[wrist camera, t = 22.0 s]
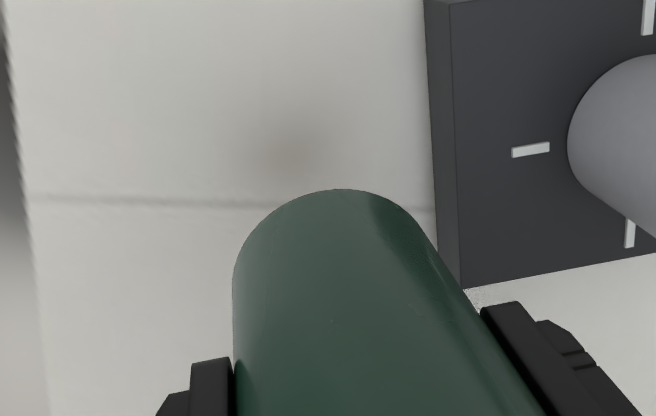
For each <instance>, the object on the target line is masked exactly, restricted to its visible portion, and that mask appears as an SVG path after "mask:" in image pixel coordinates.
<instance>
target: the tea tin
mask: <svg viewBox="0 0 656 416" xmlns="http://www.w3.org/2000/svg"><path fill="white" fill-rule="evenodd" d="M232 310H233V367H234V416H547V415H546V414H545V412H544V411H543V409H542V408H541V406H540V405H539V403H538V402H537V400H536V399H535V397H534V396H533V394H532V393H531V391H530V390H529V388H528V387H527V385H526V384H525V382H524V381H523V379H522V378H521V376H520V375H519V373H518V372H517V370H516V369H515V367H514V366H513V364H512V363H511V361H510V360H509V359H508V357H507V356H506V354H505V353H504V351H503V350H502V348H501V347H500V345H499V344H498V342H497V341H496V339H495V338H494V336H493V335H492V333H491V332H490V330H489V329H488V327H487V326H486V324H485V323H484V321H483V320H482V318H481V317H480V315H479V314H478V312H477V311H476V309H475V308H474V306H473V305H472V303H471V302H470V300H469V299H468V297H467V296H466V294H465V293H464V291H463V290H462V288H461V287H460V285H459V284H458V282H457V281H456V279H455V278H454V276H453V275H452V273H451V272H450V271H449V269H448V268H447V266H446V265H445V263H444V262H443V260H442V259H441V257H440V256H439V254H438V253H437V251H436V250H435V248H434V247H433V245H432V244H431V242H430V241H429V239H428V238H427V236H426V235H425V233H424V232H423V230H422V229H421V227H420V226H419V224H418V223H417V222H416V221H415V220H414V218H413V217H412V216H411V215H410V214H409V213H408V212H406V211H405V210H404V209H403V208H401V207H400V206H399V205H397V204H395V203H394V202H392V201H390V200H388V199H386V198H384V197H381V196H379V195H376V194H373V193H369V192H365V191H359V190H352V189H333V190H324V191H319V192H315V193H310V194H307V195H304V196H301V197H299V198H296V199H294V200H292V201H290V202H288V203H286V204H284V205H282V206H281V207H279V208H278V209H276V210H275V211H273V212H272V213H270V214H269V215H268V216H267V217H266V218H265V219H264V220H262V221H261V222H260V223H259V224H258V225H257V227H256V228H255V229H254V230H253V231H252V232H251V234H250V235H249V237H248V238H247V240H246V241H245V243H244V244H243V246H242V248H241V250H240V253H239V255H238V257H237V260H236V264H235V267H234V272H233V278H232Z"/></svg>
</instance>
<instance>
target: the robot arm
mask: <svg viewBox="0 0 656 416" xmlns="http://www.w3.org/2000/svg"><path fill="white" fill-rule="evenodd" d="M480 317H481V318H482V320H483V321H484V323H485V324H486V326H487V327H488V329H489V330H490V332H491V333H492V335H493V336H494V338H495V339H496V341H497V342H498V344H499V345H500V347H501V348H502V350H503V351H504V353H505V354H506V356H507V357H508V359H509V360H510V361H511V363H512V364H513V366H514V367H515V369H516V370H517V372H518V373H519V375H520V376H521V378H522V379H523V381H524V382H525V384H526V385H527V387H528V388H529V390H530V391H531V393H532V394H533V396H534V397H535V399H536V400H537V402H538V403H539V405H540V406H541V408H542V409H543V411H544V412H545V414H546V415H547V416H642V415H641V414H640V413H639V411H638V410H637V409H636V408H635V407H634V406H633V405H632V403H631V402H630V401H629V400H628V399H627V398H626V396H625V395H624V394H623V393H622V392H621V391H620V390H619V388H618V387H617V386H616V385H615V384H614V383H613V381H612V380H611V379H610V378H609V377H608V376H607V375H606V373H605V372H604V371H603V370H602V369H601V368H600V366H597V365H596V362H595V361H594V360H593V358H592V357H591V356H590V355H589V354H588V353H587V352H585V351H584V348H583V347H582V346H581V345H580V343H579V342H578V341H577V340H576V339H575V338H574V337H573V335H572V334H571V333H570V332H569V331H567V330H565V329H563V328H561V327H560V326H558V325H556V324H554V323H553V322H551V321H549V320H543V321H538V322H535V321H534V320H533V318H532V317H531V316H530V315H529V314H528V312H527V311H526V310H525V309H524V307H523V306H522V305H521V304H520V303H519V302H518V301H513V302H508V303H502V304H497V305H492V306H487V307H482V308H481V310H480ZM156 416H234V374H233V369H232V365H231V362H230V359H229V357H223V358H217V359H212V360H207V361H202V362H197V363H193V364H192V366H191V377H190V389H189V390H188V391H183V392H178V393H173V394H169V395H168V396H167V398H166V400H165V401H164V403H163V404H162V406H161V407H160V409H159V410H158V412H157V413H156Z"/></svg>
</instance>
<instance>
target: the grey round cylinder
mask: <svg viewBox="0 0 656 416" xmlns="http://www.w3.org/2000/svg"><path fill="white" fill-rule="evenodd" d="M567 153H568V159H569V163H570V166H571V169H572V171H573V173H574V175H575V177H576V179H577V180H578V181H579V183H580V184H581V185H582V186H583V187H584V188H585V189H586V190H588V191H589V192H591V193H592V194H593V195H595V196H596V197H598V198H599V199H601V200H602V201H603V202H605V203H606V204H608V205H609V206H611V207H612V208H613V209H615V210H616V211H618V212H619V213H621V214H622V215H623V216H625V217H626V218H628V219H629V220H631V221H632V222H633V223H635V224H636V225H638V226H639V227H641V228H642V229H643V230H645V231H646V232H648V233H649V234H651V235H652V236H653V237H655V238H656V54H652V55H644V56H640V57H636V58H632V59H630V60H627V61H625V62H623V63H621V64H619V65H617V66H615V67H614V68H612V69H611V70H609V71H608V72H606V73H605V74H604V75H603V76H601V77H600V78H599V79H598V80H597V81H596V82H595V83H594V84H593V85H592V86H591V87H590V88H589V90H588V91H587V92H586V94H585V95H584V96H583V98H582V99H581V101H580V103H579V104H578V106H577V108H576V110H575V112H574V115H573V117H572V120H571V123H570V127H569V132H568V139H567Z"/></svg>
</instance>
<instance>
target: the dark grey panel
mask: <svg viewBox="0 0 656 416" xmlns="http://www.w3.org/2000/svg"><path fill="white" fill-rule="evenodd" d="M423 2H424V19H425V36H426V53H427V70H428V87H429V104H430V121H431V138H432V155H433V172H434V189H435V206H436V223H437V240H438V254H439V256H440V257H441V259H442V260H443V262H444V263H445V265H446V266H447V268H448V269H449V271H450V272H451V273H452V275H453V276H454V278H455V279H456V281H457V282H458V284H459V285H460V287H461V288H462V289H468V288H473V287H478V286H483V285H489V284H494V283H499V282H504V281H509V280H515V279H520V278H525V277H530V276H536V275H541V274H546V273H551V272H557V271H562V270H567V269H572V268H578V267H583V266H588V265H593V264H598V263H604V262H609V261H614V260H619V259H625V258H630V257H635V256H640V255H646V254H651V253H656V238H655V237H653V236H652V235H651V234H649V233H648V232H646V231H645V230H643V229H642V228H641V227H639V226H638V225H636V224H635V223H633V222H632V221H631V220H629V219H628V218H626V217H625V216H623V215H622V214H621V213H619V212H618V211H616V210H615V209H613V208H612V207H611V206H609V205H608V204H606V203H605V202H603V201H602V200H601V199H599V198H598V197H596V196H595V195H593V194H592V193H591V192H589V191H588V190H586V189H585V188H584V187H583V186H582V185H581V184H580V183H579V181H578V180H577V179H576V177H575V175H574V173H573V171H572V169H571V166H570V163H569V159H568V153H567V139H568V132H569V127H570V123H571V120H572V117H573V115H574V112H575V110H576V108H577V106H578V104H579V103H580V101H581V99H582V98H583V96H584V95H585V94H586V92H587V91H588V90H589V88H590V87H591V86H592V85H593V84H594V83H595V82H596V81H597V80H598V79H599V78H600V77H601V76H603V75H604V74H605V73H606V72H608V71H609V70H611V69H612V68H614V67H615V66H617V65H619V64H621V63H623V62H625V61H627V60H630V59H632V58H636V57H640V56H644V55H652V54H656V0H423Z"/></svg>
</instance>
